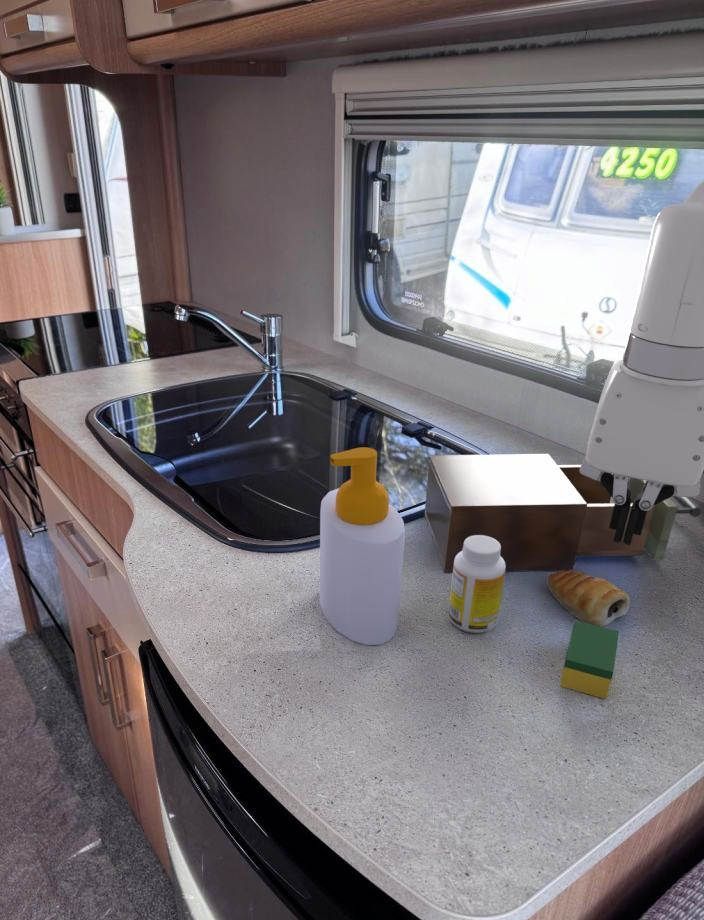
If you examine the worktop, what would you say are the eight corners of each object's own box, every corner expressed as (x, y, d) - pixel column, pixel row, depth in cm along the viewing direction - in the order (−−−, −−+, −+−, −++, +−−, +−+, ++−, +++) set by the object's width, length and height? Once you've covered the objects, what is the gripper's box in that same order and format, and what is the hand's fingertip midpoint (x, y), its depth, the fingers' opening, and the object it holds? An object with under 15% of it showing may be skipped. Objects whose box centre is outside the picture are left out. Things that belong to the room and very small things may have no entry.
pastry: (531, 593, 87) (536, 567, 86) (568, 576, 91) (573, 550, 89) (597, 634, 81) (604, 606, 79) (633, 613, 84) (641, 586, 82)
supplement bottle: (504, 616, 83) (517, 541, 78) (484, 641, 79) (496, 563, 74) (460, 599, 86) (469, 525, 81) (439, 623, 82) (447, 547, 77)
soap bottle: (305, 587, 88) (305, 433, 78) (367, 575, 91) (374, 424, 81) (345, 655, 77) (351, 485, 67) (414, 638, 80) (430, 473, 70)
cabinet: (537, 514, 105) (548, 453, 100) (573, 570, 92) (587, 504, 87) (424, 516, 104) (429, 455, 99) (444, 572, 91) (451, 506, 87)
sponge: (569, 645, 79) (574, 619, 77) (612, 657, 77) (619, 631, 76) (559, 686, 73) (565, 659, 72) (606, 699, 72) (613, 672, 70)
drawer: (658, 508, 104) (671, 459, 101) (706, 559, 93) (723, 505, 89) (514, 511, 104) (521, 461, 100) (543, 562, 92) (553, 508, 88)
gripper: (764, 358, 63) (706, 538, 72) (587, 335, 69) (553, 504, 78) (769, 382, 57) (704, 575, 66) (574, 355, 63) (539, 536, 72)
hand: (623, 536), depth 72 cm, fingers closed
